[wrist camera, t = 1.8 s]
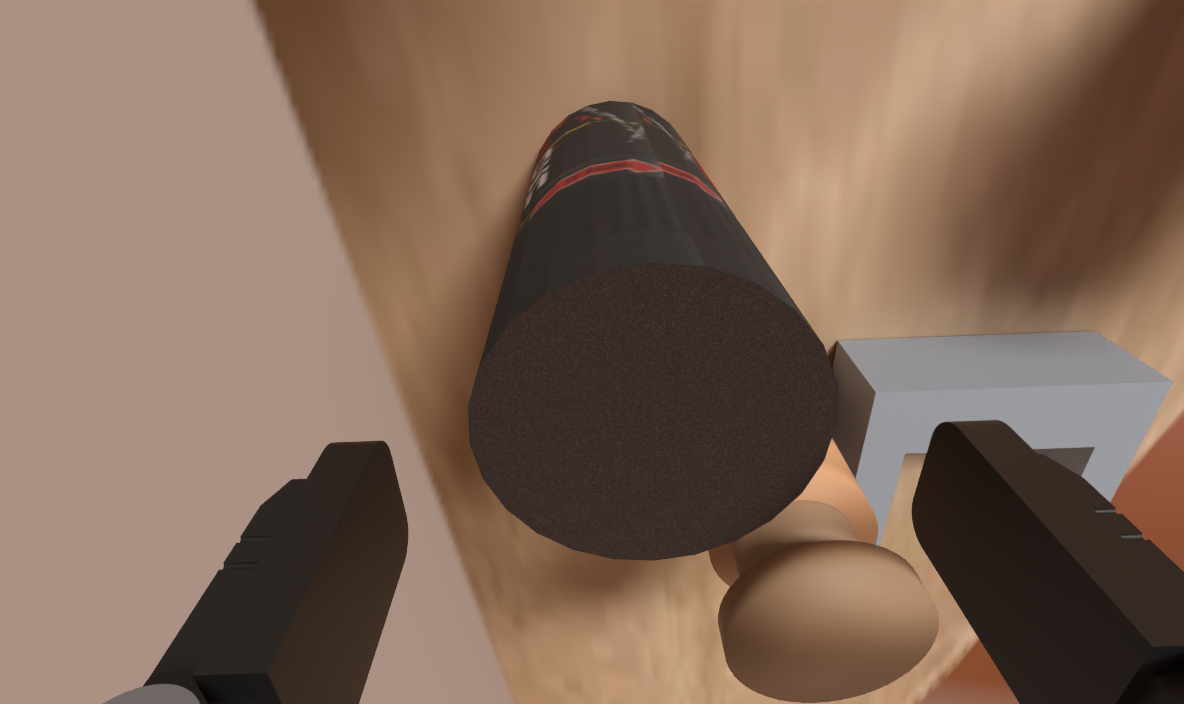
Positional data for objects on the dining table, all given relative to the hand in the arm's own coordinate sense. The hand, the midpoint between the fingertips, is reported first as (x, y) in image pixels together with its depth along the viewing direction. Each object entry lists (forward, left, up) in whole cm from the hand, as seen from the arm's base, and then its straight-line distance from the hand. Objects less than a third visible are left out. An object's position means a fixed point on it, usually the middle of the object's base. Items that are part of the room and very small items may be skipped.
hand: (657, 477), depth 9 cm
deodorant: (0, 0, -16) cm, 16 cm away
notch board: (+11, +15, -16) cm, 25 cm away
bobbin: (+10, +6, -16) cm, 20 cm away
